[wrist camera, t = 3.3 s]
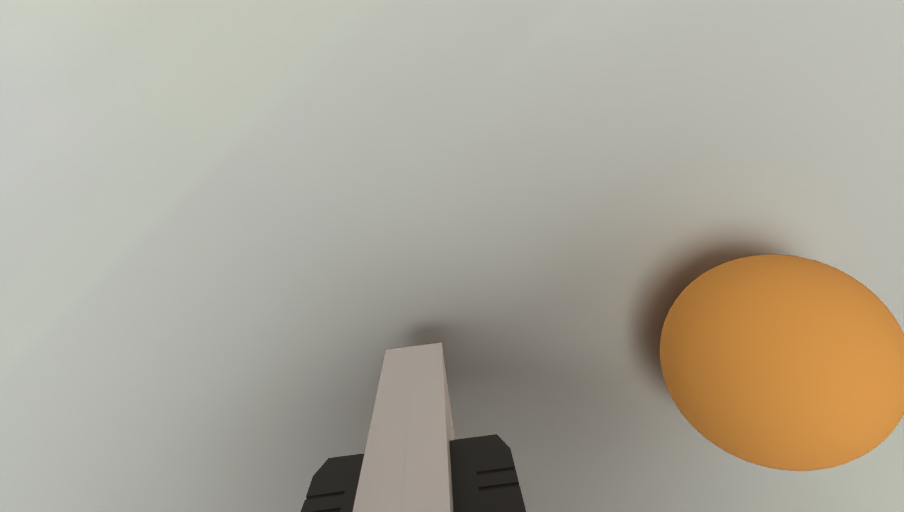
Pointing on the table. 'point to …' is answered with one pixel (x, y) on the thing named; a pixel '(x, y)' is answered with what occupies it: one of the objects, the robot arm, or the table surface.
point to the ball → (784, 362)
